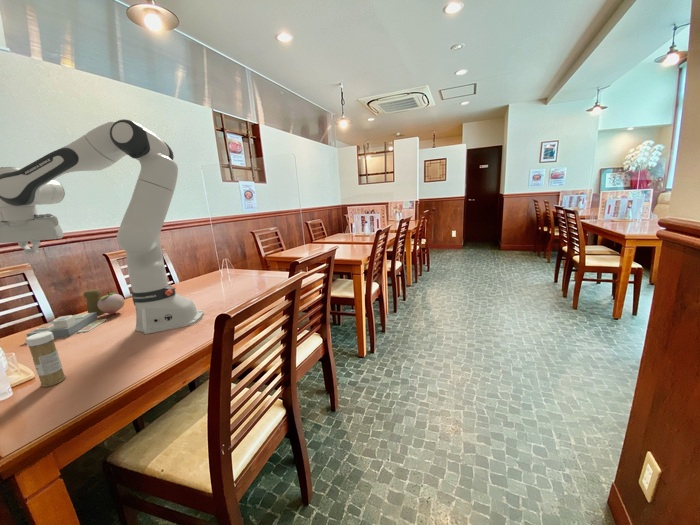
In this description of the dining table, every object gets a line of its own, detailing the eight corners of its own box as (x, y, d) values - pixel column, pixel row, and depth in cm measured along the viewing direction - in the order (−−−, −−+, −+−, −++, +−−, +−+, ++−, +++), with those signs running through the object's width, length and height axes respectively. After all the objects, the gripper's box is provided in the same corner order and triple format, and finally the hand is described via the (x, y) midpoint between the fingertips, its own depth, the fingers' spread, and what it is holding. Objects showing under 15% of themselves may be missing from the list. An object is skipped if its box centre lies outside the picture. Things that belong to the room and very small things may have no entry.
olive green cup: (95, 317, 116) (88, 292, 114) (84, 316, 117) (77, 292, 115) (110, 311, 122) (104, 287, 120) (99, 311, 123) (93, 287, 121)
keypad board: (98, 318, 114) (96, 312, 113) (70, 336, 99) (67, 328, 98) (63, 323, 111) (61, 316, 111) (29, 342, 96) (26, 334, 95)
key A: (74, 323, 110) (72, 314, 110) (67, 327, 107) (64, 318, 106) (62, 324, 110) (60, 316, 109) (55, 329, 106) (52, 320, 105)
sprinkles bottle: (40, 383, 72) (24, 336, 69) (65, 374, 75) (51, 329, 72) (41, 390, 69) (25, 341, 66) (67, 380, 72) (52, 333, 69)
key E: (91, 321, 112) (89, 312, 111) (85, 325, 108) (82, 316, 107) (80, 322, 111) (77, 314, 110) (73, 326, 107) (70, 317, 106)
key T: (59, 331, 103) (56, 322, 102) (51, 336, 99) (48, 327, 98) (46, 333, 102) (43, 324, 101) (37, 338, 98) (34, 329, 97)
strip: (106, 319, 113) (106, 318, 112) (88, 331, 102) (88, 330, 102) (96, 321, 112) (95, 319, 112) (77, 333, 101) (76, 331, 101)
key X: (76, 324, 104) (73, 315, 103) (68, 328, 100) (65, 319, 99) (63, 326, 103) (61, 316, 102) (55, 330, 99) (52, 321, 98)
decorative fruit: (121, 316, 115) (115, 293, 113) (97, 319, 113) (91, 296, 111) (130, 308, 124) (125, 287, 122) (109, 311, 122) (103, 290, 120)
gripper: (61, 213, 103) (72, 249, 107) (-7, 217, 99) (6, 254, 102) (48, 213, 97) (60, 251, 101) (-25, 218, 93) (-11, 257, 96)
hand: (32, 253), depth 101 cm, fingers closed
